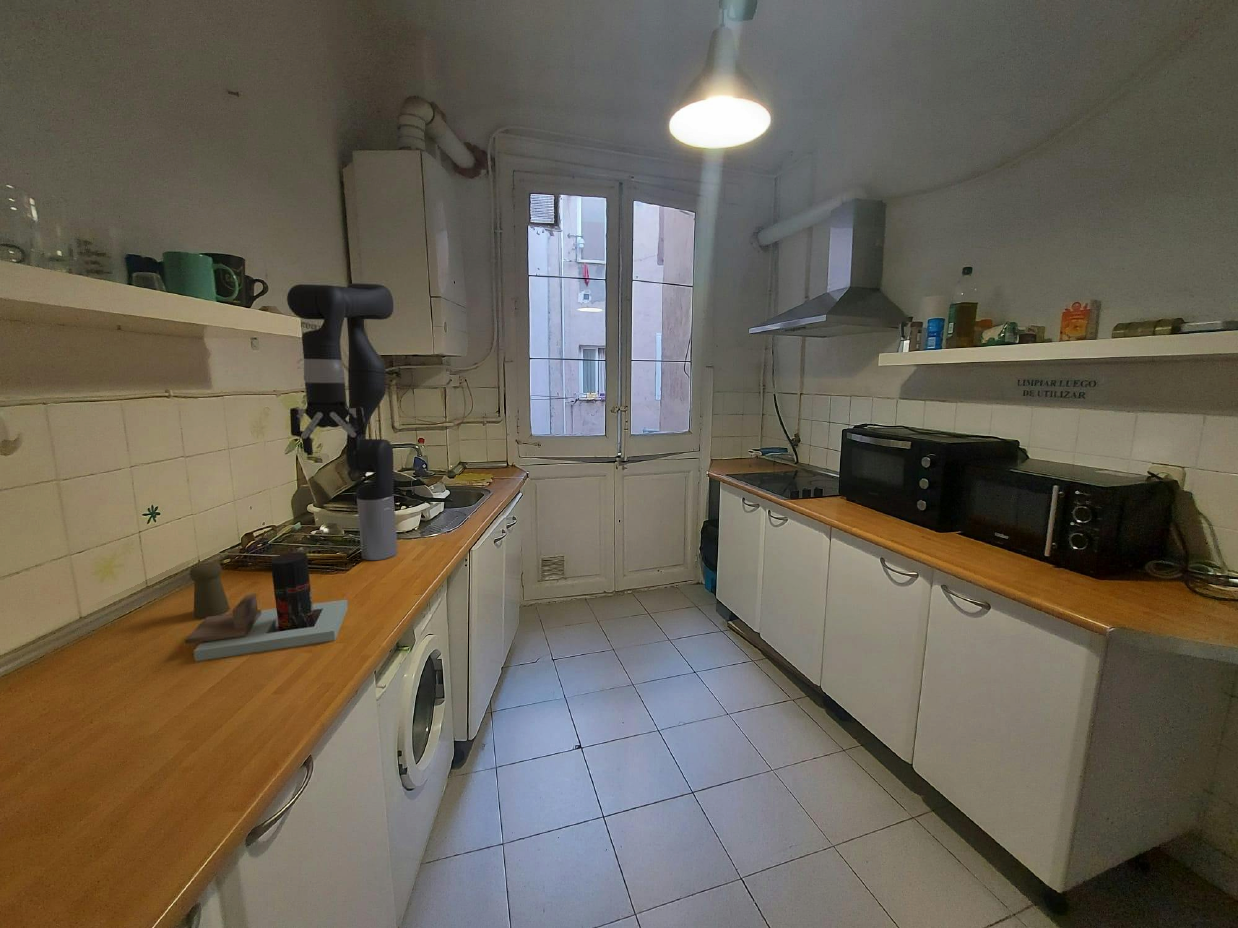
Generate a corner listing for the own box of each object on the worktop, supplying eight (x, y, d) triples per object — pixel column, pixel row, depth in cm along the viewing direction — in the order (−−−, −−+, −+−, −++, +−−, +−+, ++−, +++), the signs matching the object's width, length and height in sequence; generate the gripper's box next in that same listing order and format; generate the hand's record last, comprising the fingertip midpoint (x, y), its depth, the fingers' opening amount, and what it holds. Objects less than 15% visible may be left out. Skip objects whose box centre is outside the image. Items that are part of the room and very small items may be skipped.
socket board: (226, 623, 100) (225, 614, 99) (347, 607, 107) (347, 599, 107) (195, 661, 87) (193, 651, 86) (335, 640, 94) (334, 630, 94)
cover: (207, 620, 96) (204, 597, 95) (261, 613, 99) (258, 591, 98) (185, 643, 88) (181, 619, 87) (245, 635, 91) (241, 611, 90)
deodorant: (318, 628, 98) (310, 557, 95) (283, 639, 94) (274, 566, 91) (309, 617, 102) (302, 550, 99) (275, 628, 98) (267, 557, 95)
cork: (214, 619, 101) (206, 569, 99) (185, 618, 101) (177, 569, 99) (237, 606, 107) (230, 558, 105) (210, 605, 107) (203, 558, 105)
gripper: (364, 381, 112) (369, 450, 115) (291, 380, 107) (299, 453, 110) (358, 381, 105) (365, 455, 108) (281, 380, 100) (290, 458, 103)
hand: (332, 454), depth 109 cm, fingers open, 8 cm apart
